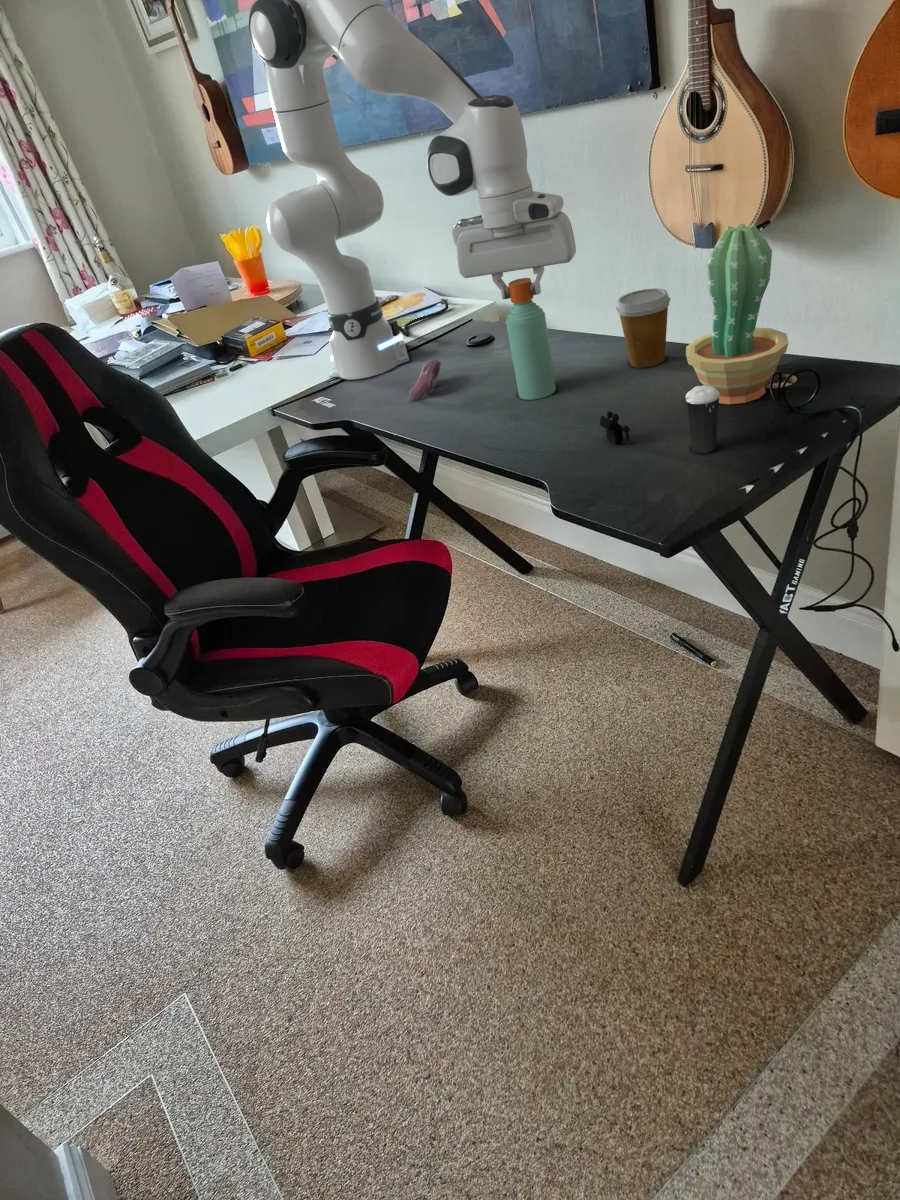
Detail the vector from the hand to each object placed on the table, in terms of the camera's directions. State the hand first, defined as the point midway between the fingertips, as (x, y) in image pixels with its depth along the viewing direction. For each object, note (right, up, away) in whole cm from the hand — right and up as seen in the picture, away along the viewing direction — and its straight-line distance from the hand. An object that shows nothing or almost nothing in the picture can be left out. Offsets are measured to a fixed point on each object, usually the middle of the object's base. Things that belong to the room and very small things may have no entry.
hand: (522, 296), depth 136 cm
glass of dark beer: (+24, -31, -22) cm, 45 cm away
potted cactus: (+34, -20, -9) cm, 40 cm away
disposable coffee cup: (+25, -8, +10) cm, 28 cm away
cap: (0, 0, 0) cm, 1 cm away
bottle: (+4, -14, +10) cm, 18 cm away
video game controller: (-17, -10, +24) cm, 31 cm away
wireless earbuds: (+13, -29, -15) cm, 35 cm away
